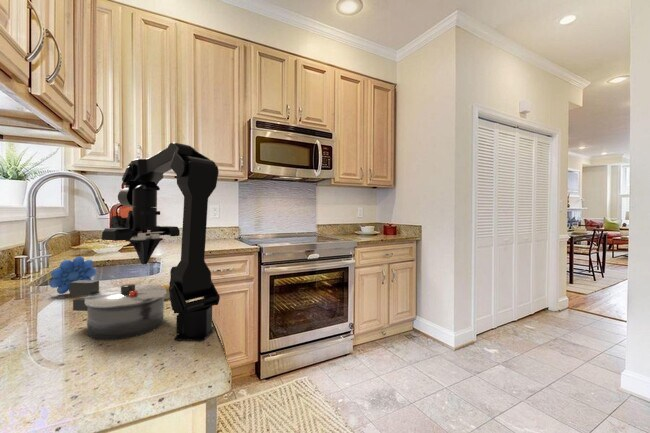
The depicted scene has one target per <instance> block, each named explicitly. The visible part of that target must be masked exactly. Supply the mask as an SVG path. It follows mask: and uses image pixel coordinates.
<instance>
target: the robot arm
mask: <svg viewBox="0 0 650 433" xmlns="http://www.w3.org/2000/svg"><path fill="white" fill-rule="evenodd" d="M169 171H172V172H174V174H176V185H177V187H178V188H179V190H180V192H181V193H182V195H183V209H182V210H183V212H182V214H183V215H182V227H181V228H182V231H180V229H179V227H178V226H172V225H171V226H169V225H161V226H160V225H158V224H157V223H158V216H159V215H161V211H160V210H158V191H161V188H160V186H159V185H158V184H159V182H160V181H162V180H163V179H164V174H165V173H168V172H169ZM218 177H219V166H218V165H217V164H216V162H215V161H214V160H212V159H210V158H209V157H207V156H205V155H203V154H201V153H200V152H198V151H197V150H196V149H195V148H194V147H193V146H191V145H189V144H185V143H184V144H183V143H179V142H170V143H168V146H167V147H165V148H164V149H162V150H160V151H159V152H157V153H155V154H154V155H152V156H150V157H148V158H136V159H133V160H131V161H130V163H128V165H127V167H126V169H125V171H124V174H123V176H122V178H121V181H122V183H121V184H122V186H125V187H124V188H122V189H121V190H120V191H119V192H118V194H117V200H118V202H119V204H120V205H122V206H124V207H127V208H131V210H129V211H128V215H127V217H122V216H121V215H113V216H111V217H110V227H111V228H110V227H109V228H104V230H103V231H102V232H101V240H103V241H113V242H114V241H115V242H117V241H125V242H128V243H130V244H131V245H132V246H133V248H134V249H135V251H136V254H137V257H138V259H139V261H140V264H141V265H147V264H148V263H149V260H150V259H151V257H152V255H153V253H154V251H155V250H156V248H157V246H158V245H159V244H160V242H161V241H163V240H164V238H162V237H160V236H170V237H180V232H181V248H180V249H181V250H180V260H179V262H178V264H177V265H175V266H172V267H171V269H170V272H169V273H170V281H169V283H168V284H169V285H168V286H169V295H170V298H169V299H170V306H171V310H172V311H173V314H177V315H176V324H175V325H176V331H175V332H176V333H175V334H176V335H175V336H174V340H175V341H195V342H196V341H197V342H198V341H199V342H201V341H202V342H203V341H205V340H206V339H207V338H209V336H210V335H211V334H212V333H213V332H214V331H215V330H216V328H215V326H213V307H214V306H218V305H219V303H220V298H221V296H220V294H219V292H218V290H217V288H216V287H215V285H214V283H213V281H212V272H211V269H210V268H209V267H208V265H207V263H206V262H205V259H206V258H205V255H206V238H207V223H208V221H207V220H208V205H209V198H210V197H211V195H212V193H213V192H214V191H215V189H216V188H217V185H218V184H217V183H218ZM199 298H200V299H199ZM187 301H188V302H187Z"/></svg>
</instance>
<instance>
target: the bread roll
mask: <svg viewBox="0 0 650 433" xmlns="http://www.w3.org/2000/svg"><path fill="white" fill-rule="evenodd" d="M156 285H157V286H162V287H165V288H166V295H165V296H164V301H166V300H168V299H170V295H169V286H170V285H165V284H164V285H160V284H156ZM165 299H166V300H165Z"/></svg>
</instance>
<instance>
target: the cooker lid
mask: <svg viewBox="0 0 650 433" xmlns="http://www.w3.org/2000/svg"><path fill="white" fill-rule="evenodd" d="M157 285H158V284H140V285H139V284H133V283H129V284H128V283H126V284H123V285H121V286H116V287H111V288H106V289H101V290H100V280H91V281H89V280H78V281H74V282H70V292H69V296H80V297H83V296H86V297H85V305H86V306H89V307H93V308H120V307H128V306H135V305H140V304H145V303H149V302H152V301H156V300H158V299H161V298H162V297H164V296H165V295H166V288H165V287H162V286H163V285H161V286H157Z"/></svg>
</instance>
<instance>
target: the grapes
mask: <svg viewBox="0 0 650 433" xmlns="http://www.w3.org/2000/svg"><path fill="white" fill-rule="evenodd" d="M93 266H94V260H92V259H87V260H85V259H84V257H83V256H77V257H75V258H73V260H71V259H65V260H63V261H61V262H60V264H59V268H55V269H52V271H51V272H50V277H51V278H53V279H52V280H51V281H50V282H49V287H51V288H52V289H53V288H54V289H55V288H57V289H56V293H58V294H59V295H60V294H66V293H68V292H69V293H70V282H74V281H78V280H89V281H92V277H94V276H95V275H96V274H97V270H96V268H95V267H93Z"/></svg>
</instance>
